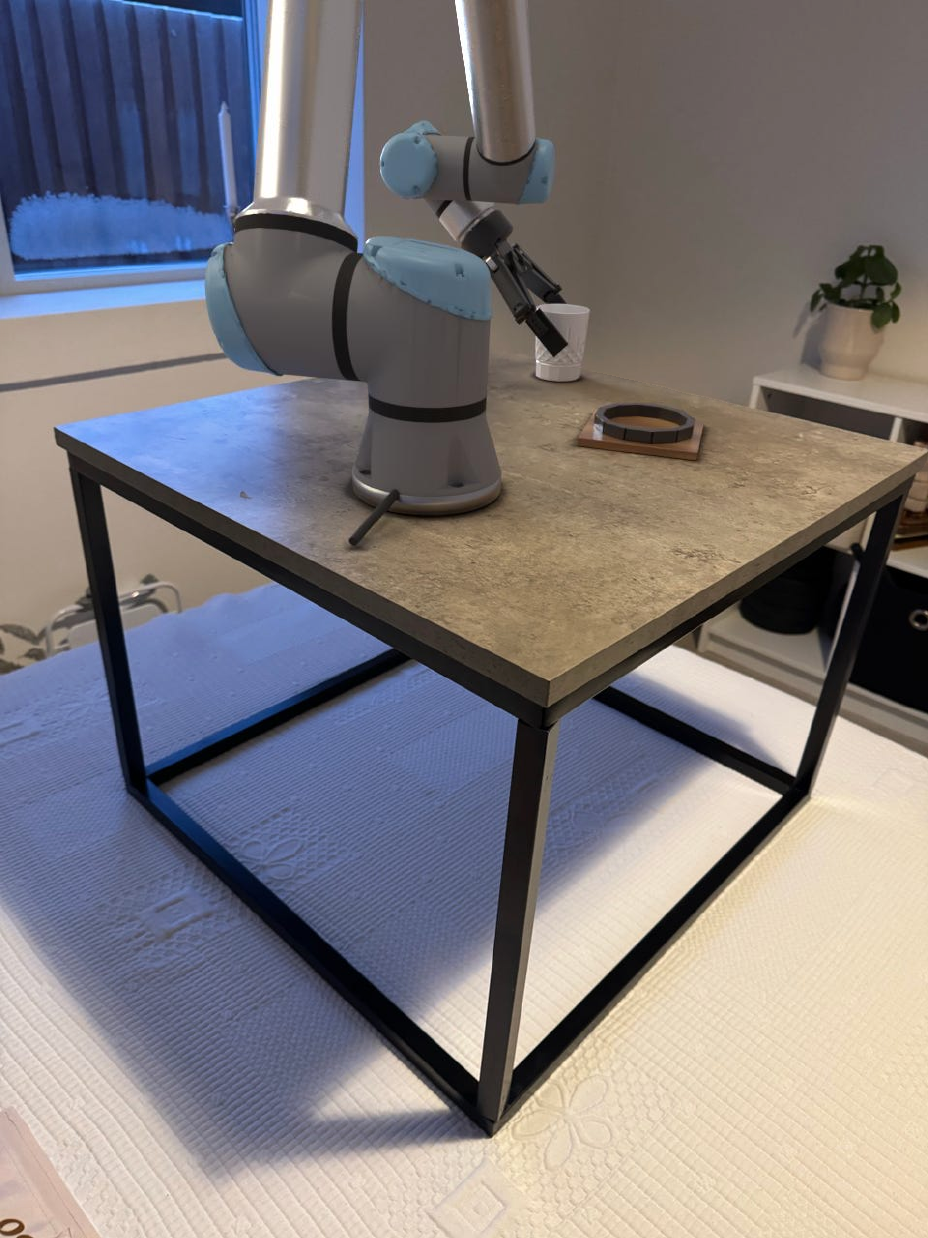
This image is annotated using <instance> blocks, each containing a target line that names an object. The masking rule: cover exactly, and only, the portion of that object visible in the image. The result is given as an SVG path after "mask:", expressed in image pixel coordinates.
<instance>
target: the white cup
mask: <svg viewBox="0 0 928 1238" xmlns="http://www.w3.org/2000/svg"><path fill="white" fill-rule="evenodd" d="M536 308H537V310H538V309H539V308H540V309H541V310H542V311H543V312H544V314H545V315H546V316H547V317H548V319H549V320H550V321H551V323H552V324H553V325H554V326H555V328H556V329H557V330H558V331H559V333H560V334H561V335H562V336H563V338H564V339H565V340H566V341H567V343H568V345H567V346H566V347H565V348H564V349H563V350H562V351H561V352H559V353H558V354H557V355H556V356H555V357H554V358H553V356H552V355H551V354H550V353H549V351H548V350H547V349H546V348H545V346H544V345H543V344H542V343H541V341H540V340H539V339H538V338H537V336H536V335H534V336H535V346H534V348H535V353H534V354H535V355H534V356H535V377H537V378H538V379H540V380H544V381H549V382H556V383H557V382H558V383H559V382H573V381H574V382H575V381H576V380H578V379H580V376H581V367H582V361H583V358H584V353H585V347H586V341H587V333H588V326H589V320H590V314H591V310H590V308H588V307H586V306H582V305H577V304H570V303H569V304H568V303H567V304H547V303H543V304H540V305H537V306H536ZM537 310H536V311H537ZM536 311H535V312H536Z"/></svg>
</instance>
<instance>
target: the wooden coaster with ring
mask: <svg viewBox="0 0 928 1238" xmlns="http://www.w3.org/2000/svg"><path fill="white" fill-rule="evenodd" d="M704 426H705V419H702V418H695V417H694V416H693V415H691V414H689V413H688V412H686V411H684V410H682V409H678V408H673V407H670V406H666V405H662V404H654V403H644V402H620V403H618V402H617V403H616V402H615V403H611V404H608V405H603V406H600V407H596V408H595V410H594V412H593V413H592V414H591V416H590V418H589V419H588V421H587V423H586V424H585V426H584V427H583V428H582V430H581V432H580V433H579V435H578V437H577V440H576V441H577V442H576V446H577V447H586V448H587V447H588V448H592V449H602V450H608V451H609V450H610V451H619V452H627V453H632V454H641V455H648V456H658V457H666V458H673V459H679V460H680V459H681V460H690V461H696V460H697V458H698V453H699V448H700V443H701V439H702V434H703V431H704Z"/></svg>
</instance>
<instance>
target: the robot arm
mask: <svg viewBox="0 0 928 1238" xmlns="http://www.w3.org/2000/svg"><path fill="white" fill-rule="evenodd" d="M454 2H455V8H456V14H457V22H458V28H459V36H460V42H461V49H462V55H463V64H464V69H465V77H466V85H467V89H468V90H467V91H468V95H469V96H468V97H469V105H470V110H471V111H470V112H471V118H472V124H473V125H472V126H473V131H474V136H457V135H456V136H455V135H443V134H442V133H441V132H439V131H438V130H437V128H436V127H435V126H434V125H433V124H432V123H431V122H430V121H429V120H420V121H418V122H416V123H413V124H412V125H411V126H409V128H408V129H406V130H405V131H404V132H402V133H398V134H396V135H394V136H392V137H391V138H390V139H388V141H387V142H386V143H385V145H384V146H383V148H382V150H381V154H380V158H379V170H380V175H381V178H382V180H383V183H384V184H385V185H386V188H388V189H389V190H390V192H391V193H393V194H395V195H397V196H399V197H401V198H402V199H405V200H409V199H410V200H411V199H412V200H417V199H419V200H420V199H421V200H422V201H423V202H424V203H425V204H426V205H427V207H428V208H429V209H430V210H431V212H432V213H433V214H434V215H435V216H436V218H437V219H438V221H439V222H440V223H441V225H442V226H443V227H444V229H445V230H446V231H447V232H448V234H449V235H450V237H452V239H453V240H454V241H455V242H461V243H460V248H459V247H455V246H451V245H448V244H443V243H438V242H435V241H434V242H433V241H429V240H423V239H417V238H409V237H407V238H403V237H398V236H385V235H384V236H373V237H371V238H368V239H367V241H366V242H365V244H364V247H363V249H362V252H358V250H359V249H358V248H359V238H358V235H357V234H356V233H355V231H354V230H353V229H352V227H351V226H350V225H349V224H348V222H347V221H346V218H345V214H346V213H345V212H346V202H347V190H348V182H349V181H348V180H349V179H348V178H349V169H350V157H351V147H352V146H351V144H352V133H353V124H354V123H353V122H354V111H355V100H356V87H357V77H358V65H359V52H360V42H361V32H362V31H361V30H362V19H363V8H364V7H363V5H364V0H267V5H266V17H265V19H266V20H265V30H264V31H265V33H264V34H265V35H264V46H263V47H264V48H263V61H262V74H261V89H260V103H259V114H258V115H259V117H258V128H257V130H258V131H257V142H256V143H257V145H256V156H255V157H256V159H255V172H254V185H253V188H254V189H253V197H252V203H250V204H249V205H248V206H247V207H246V208H243V210H241V211H240V212H238V214H236V216H235V218H234V230H233V231H234V232H233V242H232V241H231V242H229V241H225V242H223V243H222V244H219V245H217V246H215V247H214V248H213V250H212V251H211V253H210V257H209V258H208V260H207V262H206V266H205V273H204V296H205V306H206V311H207V316H208V320H209V324H210V327H211V330H212V332H213V334H214V336H215V339H216V341H217V343H218V345H219V348H220V349H221V350H222V352H223V353H224V354H225V356H226V357H227V359H229V360H230V361H231V363H234V365H235V366H237V367H238V368H241V369H244V370H246V371H251V372H258V373H264V374H265V373H266V374H270V375H272V376H275V377H284V376H295V377H305V378H317V379H326V380H327V379H328V380H338V381H348V382H358V383H365V384H367V392H368V396H367V397H368V413H367V414H368V415H367V418H366V422H365V425H364V429H363V432H362V435H361V439H360V443H359V445H358V449H357V452H356V455H355V459H354V462H353V465H352V468H351V480H352V483H351V484H352V491H353V493H354V494H355V496H356V497H357V498H358V499H359V500H361V501H362V502H364V503H366V504H368V505H370V506H372V507H375V508H374V509H373V511H372V512H371V513H370V514H369V515H368V517H366V518H365V520H364V521H363V522H362V523H361V524H360V525H359V526H358V528H357V529H355V531H354V532H353V533H352V534H351V535H350V536H349V538H348V539H347V540H348V541H347V542H348V543H349V545H350V546H352V547H355V546H357V545H359V543H360V542H361V540H363V539H364V537H365V536H366V535H367V534H368V533H369V531H370V530H371V529H372V528H373V527H374V526H375V525H376V523H377V522H378V521H379V520H380V519H381V518H382V517H383V515H384V514H386V512H387V511H388V512H393V513H399V514H405V515H416V516H445V515H453V514H455V515H456V514H461V513H467V512H470V511H474V510H477V509H480V508H483V507H485V506H487V505H489V504H491V503H493V502H494V501H495V500H496V499H497V498H498V497H499V496H500V495H501V494H500V493H501V484H502V470H501V466H500V462H499V460H498V455H497V451H496V448H495V444H494V440H493V438H492V433H491V429H490V426H489V423H488V417H487V405H488V404H487V399H488V382H489V381H488V380H489V365H490V364H489V363H490V344H491V342H490V341H491V325H492V324H491V322H492V319H493V318H494V317H493V316H494V310H493V307H492V282H493V283H494V285H495V287H496V288H497V291H498V292H499V294H500V295H501V297H502V300H504V303H505V304H506V306H507V307H508V309H509V311H510V312H511V314H512V316H513V318H514V321H515V323H517V324H518V325H522V324H523V323H524V324H526V325H527V327H528V328H529V330H531V332H532V333H533V334H534V336H537V338H538V339H539V340H540V341H541V343H542V344H543V345H544V346H545V348H546V349H547V350H548V351H549V353H550V354H551V355H552V356H553V358H554V357H555V356H556V355H557V354H558V353H559V352H561V351H562V350H563V349H564V348H565V347H566V346H567V345H568V343H567V341H566V340H565V339H564V338H563V336H562V335H561V334H560V333H559V331H558V330H557V329H556V328H555V326H554V325H553V324H552V323H551V321H550V320H549V319H548V317H547V316H546V315H545V314H544V312H543V311H542V310H541V309H540V308H539V309H538V310H537V308H536V307H537V306H536V304H535V302H534V300H533V298H532V296H531V293H532V294H533V295H535V296H536V297H537V298H538V299H540V300H541V301H542V302H543V303H544V304H568V303H567V302H566V301H565V299H564V298H563V297H562V295H561V294H560V292H561V291H562V290H563V288H562V286H561V285H560V284H558V283H557V282H555V281H554V280H553V279H552V278H551V277H550V276H549V275H548V274H547V273H546V272H545V271H544V270H543V269H542V268H541V267H540V266H539V265H538V264H537V263H536V262H535V261H534V260H533V259H532V258H531V257H530V256H529V255H527V253H526V252H525V251H524V250H523V248H522V247H521V246H520V244H519V243H517V242H514V243H513V244H510V243H509V242H508V241H507V240H508V238H509V237H510V236H511V235H512V233H513V231H514V226H513V225H512V223H511V222H510V221H509V220H508V218H507V217H506V216H505V214H504V213H503V212H502V210H500V209H494V208H495V203H497V204H508V205H509V204H510V205H515V206H517V205H518V206H519V205H536V204H537V205H539V204H544V203H546V202H547V201H548V200H549V198H550V196H551V194H552V190H553V184H554V177H555V166H556V165H555V163H556V155H555V153H556V151H555V147H554V144H553V142H552V141H551V140H549V139H543V138H541V137H536V136H537V135H536V134H537V133H536V132H537V131H536V117H535V99H534V98H535V97H534V84H533V83H534V82H533V69H532V68H533V67H532V49H531V33H530V32H531V31H530V18H529V17H530V15H529V1H528V0H455V1H454ZM529 291H530V292H531V293H530V292H529ZM536 310H537V311H536Z"/></svg>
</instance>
